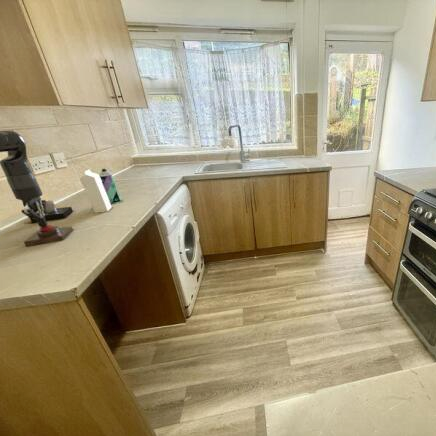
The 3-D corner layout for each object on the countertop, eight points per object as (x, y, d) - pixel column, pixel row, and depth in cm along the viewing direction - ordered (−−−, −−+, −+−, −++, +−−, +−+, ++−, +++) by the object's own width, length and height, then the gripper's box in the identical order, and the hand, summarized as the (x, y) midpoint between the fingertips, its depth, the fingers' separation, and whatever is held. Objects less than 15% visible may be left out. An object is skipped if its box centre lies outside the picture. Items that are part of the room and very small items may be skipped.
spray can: (111, 202, 144) (98, 168, 135) (122, 200, 146) (109, 167, 137) (110, 205, 139) (96, 170, 131) (121, 202, 141) (108, 169, 133)
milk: (112, 208, 134) (96, 168, 125) (108, 212, 129) (91, 170, 119) (99, 209, 132) (82, 169, 123) (94, 213, 127) (77, 172, 118)
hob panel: (32, 223, 118) (29, 217, 116) (42, 215, 126) (39, 210, 125) (65, 218, 122) (62, 212, 121) (73, 211, 131) (70, 206, 129)
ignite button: (39, 233, 99) (37, 229, 98) (44, 229, 102) (42, 225, 101) (50, 231, 100) (49, 227, 100) (54, 228, 103) (53, 224, 103)
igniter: (26, 246, 96) (21, 237, 95) (39, 235, 105) (35, 227, 103) (63, 240, 100) (59, 232, 99) (73, 230, 109) (69, 222, 107)
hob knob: (54, 212, 122) (50, 202, 120) (43, 213, 120) (38, 203, 118) (58, 209, 126) (54, 199, 123) (47, 210, 124) (43, 201, 122)
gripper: (22, 182, 98) (40, 221, 105) (0, 191, 87) (22, 234, 94) (45, 180, 101) (62, 218, 108) (27, 188, 90) (47, 230, 97)
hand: (43, 225), depth 101 cm, fingers closed
